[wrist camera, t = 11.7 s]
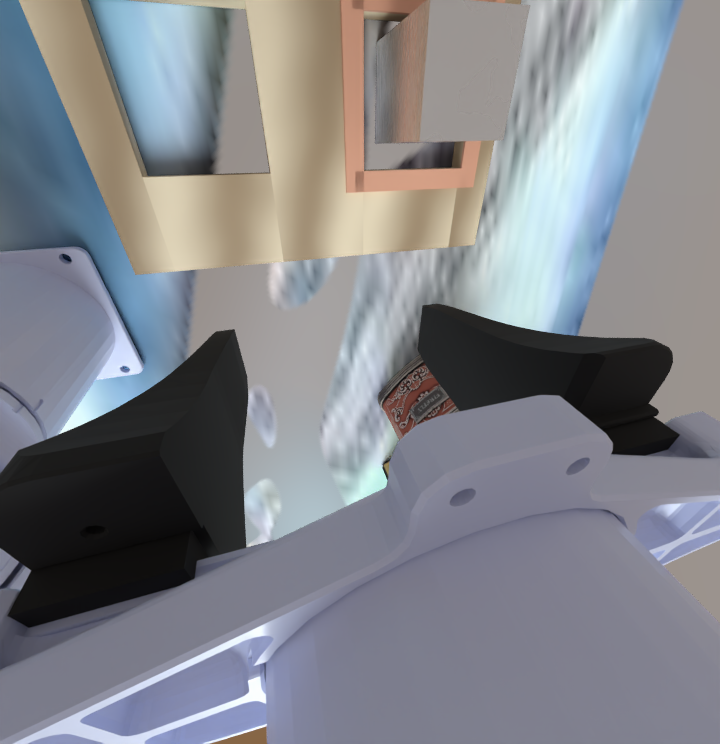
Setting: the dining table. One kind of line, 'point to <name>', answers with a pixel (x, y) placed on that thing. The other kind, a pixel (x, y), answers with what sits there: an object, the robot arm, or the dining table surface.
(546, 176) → the dining table surface
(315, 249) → the rail
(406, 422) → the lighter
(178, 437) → the robot arm
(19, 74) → the dining table surface
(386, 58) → the steel peg
